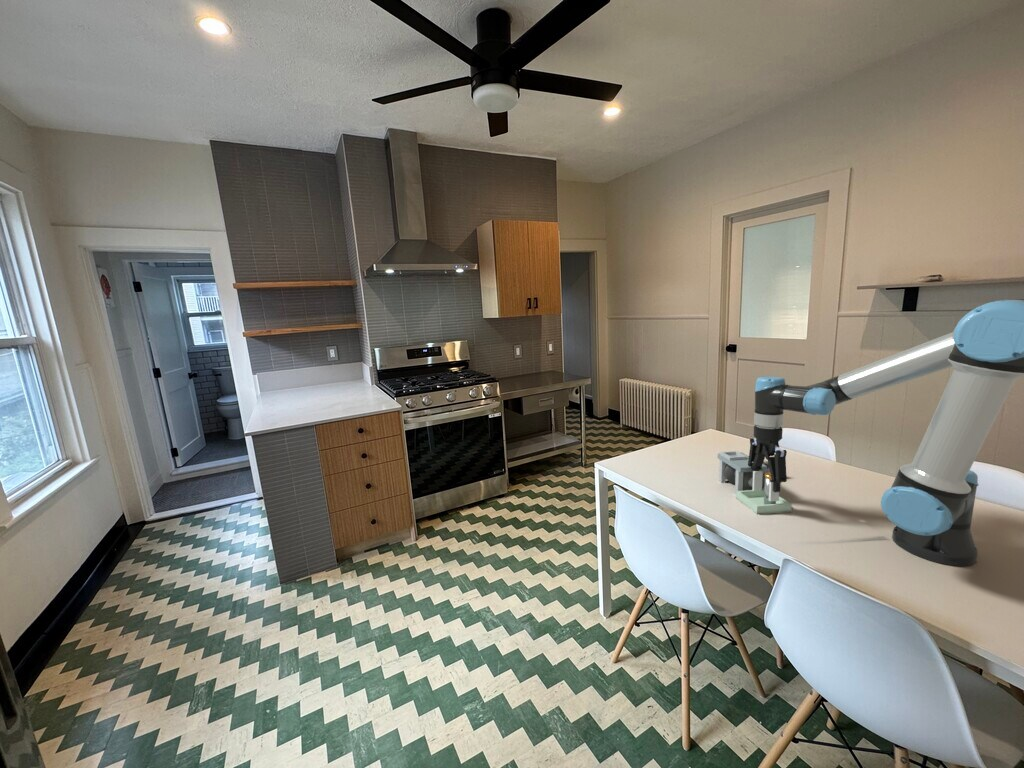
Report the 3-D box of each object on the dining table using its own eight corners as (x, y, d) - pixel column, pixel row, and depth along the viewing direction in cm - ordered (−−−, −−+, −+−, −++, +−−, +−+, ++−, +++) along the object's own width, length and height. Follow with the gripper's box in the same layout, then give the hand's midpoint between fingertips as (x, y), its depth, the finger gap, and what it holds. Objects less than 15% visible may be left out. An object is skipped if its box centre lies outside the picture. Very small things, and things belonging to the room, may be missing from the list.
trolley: (768, 495, 132) (770, 463, 130) (739, 497, 131) (740, 465, 130) (742, 478, 145) (744, 449, 144) (716, 480, 145) (717, 451, 143)
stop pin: (778, 506, 121) (780, 476, 119) (767, 507, 121) (768, 476, 119) (772, 501, 124) (773, 472, 122) (761, 502, 124) (762, 472, 123)
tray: (791, 512, 120) (791, 504, 120) (756, 514, 120) (757, 506, 120) (767, 496, 131) (768, 489, 131) (736, 498, 131) (736, 491, 130)
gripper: (804, 434, 111) (800, 508, 114) (758, 417, 131) (756, 481, 134) (779, 435, 111) (775, 510, 114) (736, 419, 131) (734, 483, 134)
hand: (765, 495), depth 124 cm, fingers open, 7 cm apart
